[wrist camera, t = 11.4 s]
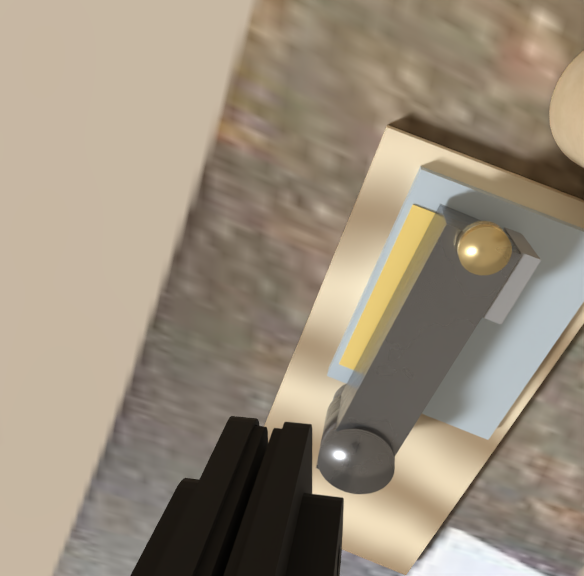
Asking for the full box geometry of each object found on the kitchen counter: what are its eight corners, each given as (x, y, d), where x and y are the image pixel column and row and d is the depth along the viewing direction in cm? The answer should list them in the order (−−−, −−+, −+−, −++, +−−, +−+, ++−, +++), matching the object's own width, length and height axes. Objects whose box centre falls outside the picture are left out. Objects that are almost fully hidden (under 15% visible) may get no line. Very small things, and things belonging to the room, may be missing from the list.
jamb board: (405, 561, 34) (405, 575, 33) (236, 492, 34) (232, 504, 33) (640, 221, 22) (650, 228, 22) (387, 124, 23) (386, 127, 22)
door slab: (485, 429, 27) (499, 486, 24) (328, 367, 27) (318, 413, 24) (614, 240, 22) (656, 275, 18) (420, 165, 22) (425, 186, 19)
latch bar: (377, 455, 28) (374, 513, 24) (316, 430, 28) (305, 483, 24) (521, 218, 21) (546, 249, 18) (441, 185, 21) (450, 210, 18)
